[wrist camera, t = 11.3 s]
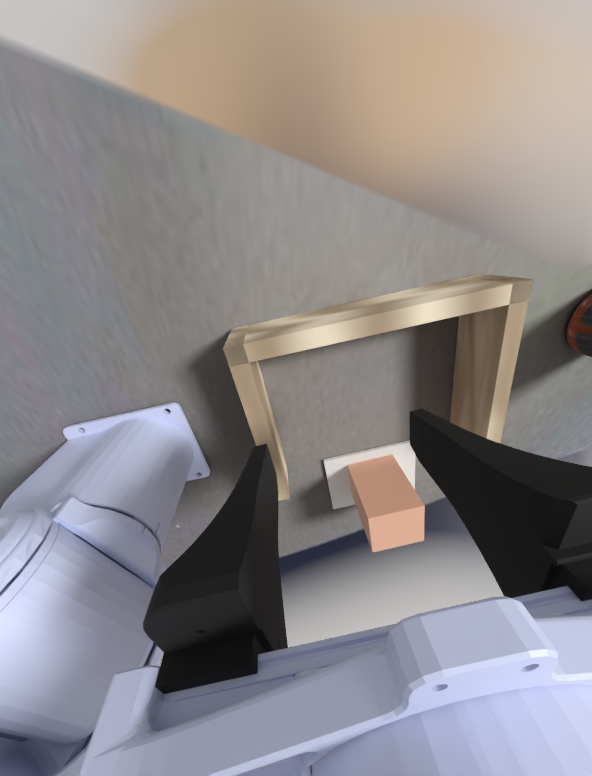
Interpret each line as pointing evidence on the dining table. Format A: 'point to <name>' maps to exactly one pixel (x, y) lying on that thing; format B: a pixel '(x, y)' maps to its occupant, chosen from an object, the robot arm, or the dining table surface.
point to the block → (386, 503)
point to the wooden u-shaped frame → (387, 313)
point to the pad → (339, 464)
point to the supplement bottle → (581, 328)
